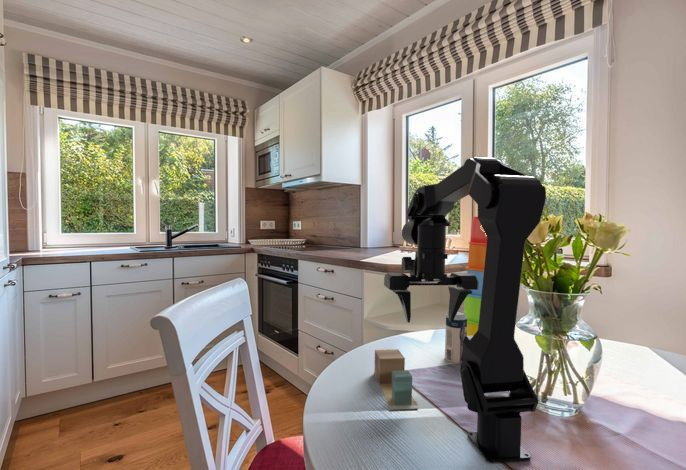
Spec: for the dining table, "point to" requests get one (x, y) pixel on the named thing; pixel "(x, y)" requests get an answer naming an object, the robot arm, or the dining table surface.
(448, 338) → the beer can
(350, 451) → the dining table surface
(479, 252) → the stacking cups
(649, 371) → the dining table surface
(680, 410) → the dining table surface
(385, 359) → the walnut cube
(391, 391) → the green toy block
